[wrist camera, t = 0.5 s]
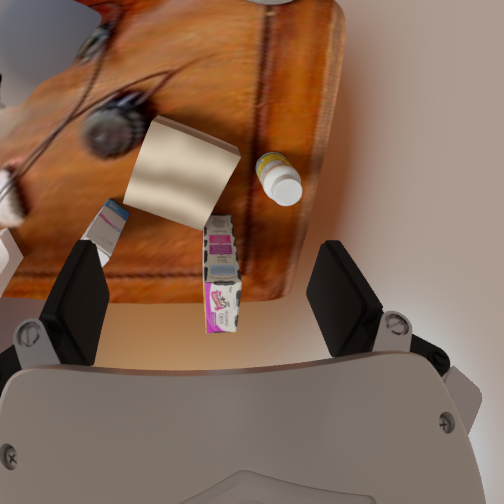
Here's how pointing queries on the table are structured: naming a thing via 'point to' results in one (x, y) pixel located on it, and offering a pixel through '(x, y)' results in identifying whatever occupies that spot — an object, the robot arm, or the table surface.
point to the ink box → (106, 229)
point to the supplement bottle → (279, 178)
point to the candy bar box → (220, 275)
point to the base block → (180, 173)
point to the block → (8, 258)
